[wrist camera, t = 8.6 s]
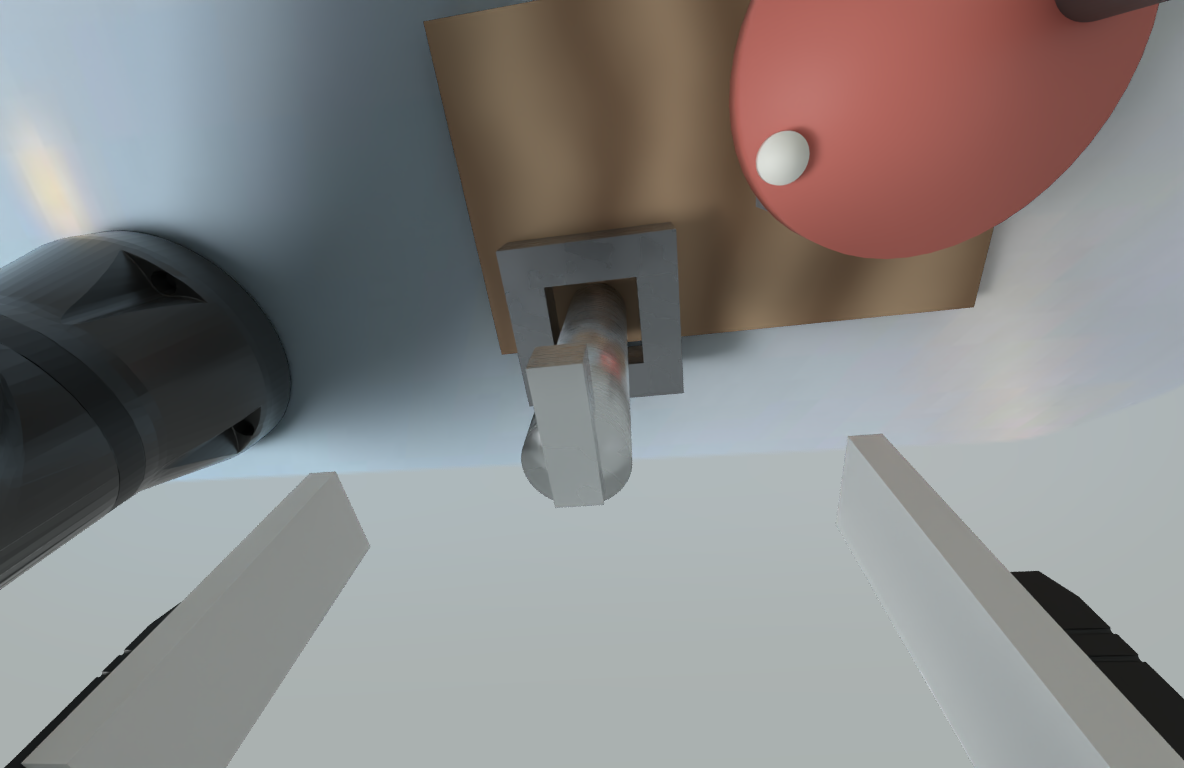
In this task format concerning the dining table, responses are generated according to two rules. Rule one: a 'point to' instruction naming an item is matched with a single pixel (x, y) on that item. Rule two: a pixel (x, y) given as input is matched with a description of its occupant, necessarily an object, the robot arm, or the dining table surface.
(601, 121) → the board
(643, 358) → the eye
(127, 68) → the dining table surface
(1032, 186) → the handwheel
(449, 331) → the dining table surface
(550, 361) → the hook peg
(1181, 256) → the dining table surface
